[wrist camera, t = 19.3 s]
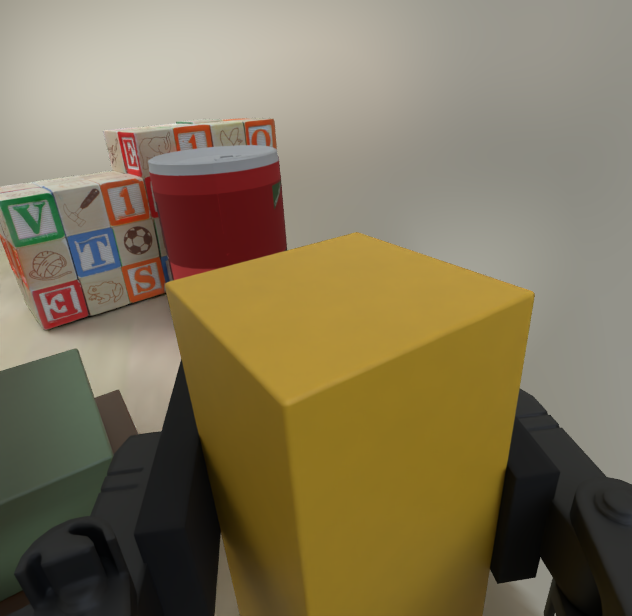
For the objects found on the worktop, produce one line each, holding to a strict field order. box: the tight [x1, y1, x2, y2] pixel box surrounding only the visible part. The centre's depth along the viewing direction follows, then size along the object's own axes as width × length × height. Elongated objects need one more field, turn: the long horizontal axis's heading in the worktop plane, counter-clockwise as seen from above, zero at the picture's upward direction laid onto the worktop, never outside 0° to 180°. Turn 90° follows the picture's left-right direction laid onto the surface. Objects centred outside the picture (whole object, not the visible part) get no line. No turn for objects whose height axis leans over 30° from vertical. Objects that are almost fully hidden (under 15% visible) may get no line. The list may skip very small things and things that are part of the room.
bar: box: [165, 232, 535, 616], centre depth 9 cm, size 4×4×10 cm
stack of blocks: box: [0, 118, 280, 330], centre depth 37 cm, size 21×6×12 cm, turn 131°
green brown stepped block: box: [0, 349, 138, 616], centre depth 14 cm, size 9×9×6 cm
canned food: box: [148, 145, 287, 280], centre depth 30 cm, size 8×8×11 cm
